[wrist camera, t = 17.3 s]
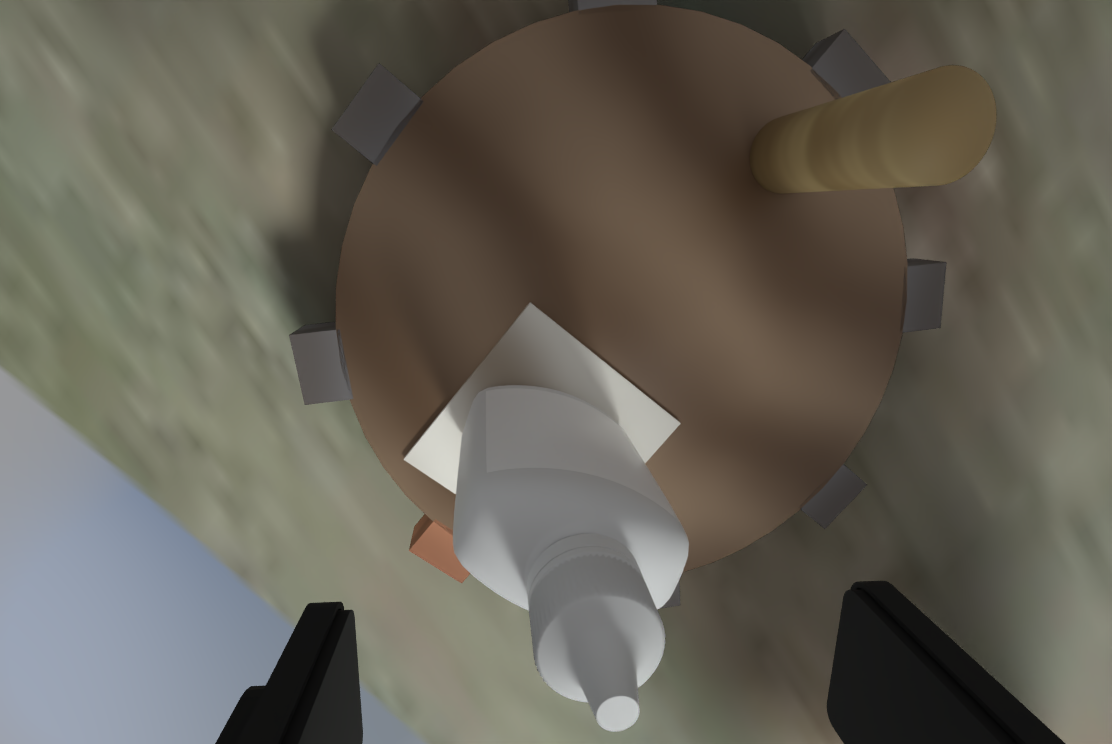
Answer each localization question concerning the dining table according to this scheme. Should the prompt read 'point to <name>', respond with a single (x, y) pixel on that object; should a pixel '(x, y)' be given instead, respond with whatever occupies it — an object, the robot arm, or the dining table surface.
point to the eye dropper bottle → (570, 540)
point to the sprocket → (643, 256)
